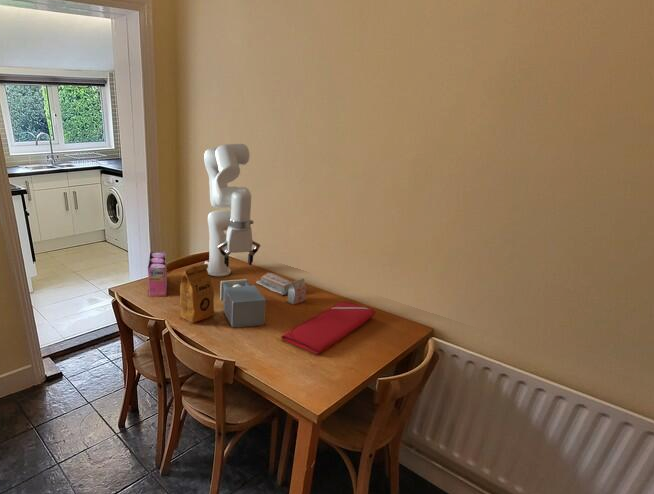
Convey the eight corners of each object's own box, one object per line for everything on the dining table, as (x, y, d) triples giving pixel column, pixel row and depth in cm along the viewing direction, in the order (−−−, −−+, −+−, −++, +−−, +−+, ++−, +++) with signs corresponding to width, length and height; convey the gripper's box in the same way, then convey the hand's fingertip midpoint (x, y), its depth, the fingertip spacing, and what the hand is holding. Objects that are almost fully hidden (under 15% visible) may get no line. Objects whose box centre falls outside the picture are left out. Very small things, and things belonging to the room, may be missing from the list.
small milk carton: (287, 301, 177) (289, 280, 173) (298, 298, 180) (300, 276, 176) (293, 304, 174) (295, 282, 170) (304, 300, 177) (307, 279, 173)
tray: (217, 294, 182) (218, 276, 178) (242, 293, 184) (243, 274, 180) (227, 313, 165) (228, 293, 162) (254, 311, 167) (255, 291, 163)
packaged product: (299, 281, 185) (283, 286, 180) (298, 291, 187) (282, 296, 182) (271, 270, 199) (256, 274, 194) (270, 279, 201) (255, 283, 196)
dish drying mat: (279, 339, 148) (280, 330, 146) (339, 306, 172) (340, 298, 171) (318, 356, 137) (319, 347, 135) (375, 318, 162) (377, 310, 160)
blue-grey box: (223, 311, 169) (224, 287, 165) (253, 308, 171) (254, 285, 166) (232, 327, 156) (233, 302, 152) (264, 324, 158) (265, 299, 153)
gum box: (151, 277, 205) (150, 251, 200) (167, 276, 206) (166, 250, 200) (149, 296, 184) (147, 267, 178) (166, 295, 184) (165, 267, 178)
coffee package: (217, 317, 164) (218, 265, 154) (192, 326, 157) (191, 272, 148) (202, 309, 171) (202, 259, 162) (177, 317, 165) (176, 265, 155)
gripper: (258, 220, 164) (256, 260, 172) (216, 222, 162) (215, 262, 170) (264, 225, 158) (261, 266, 166) (220, 227, 156) (219, 269, 163)
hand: (238, 264), depth 168 cm, fingers open, 9 cm apart
